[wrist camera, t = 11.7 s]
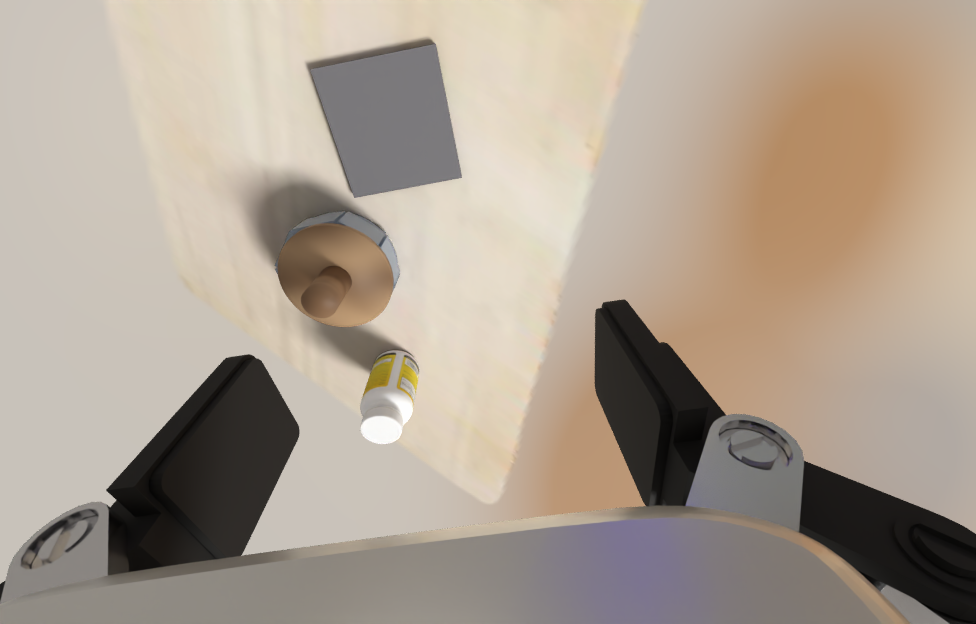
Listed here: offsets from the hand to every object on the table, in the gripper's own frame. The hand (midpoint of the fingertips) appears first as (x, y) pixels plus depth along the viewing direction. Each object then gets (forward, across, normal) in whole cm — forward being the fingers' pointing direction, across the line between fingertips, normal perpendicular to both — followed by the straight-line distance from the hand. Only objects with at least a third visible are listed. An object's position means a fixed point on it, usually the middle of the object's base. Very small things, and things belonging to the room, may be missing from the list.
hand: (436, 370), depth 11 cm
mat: (+28, +5, -5) cm, 28 cm away
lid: (+24, +12, +6) cm, 27 cm away
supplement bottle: (+28, +11, +20) cm, 36 cm away
